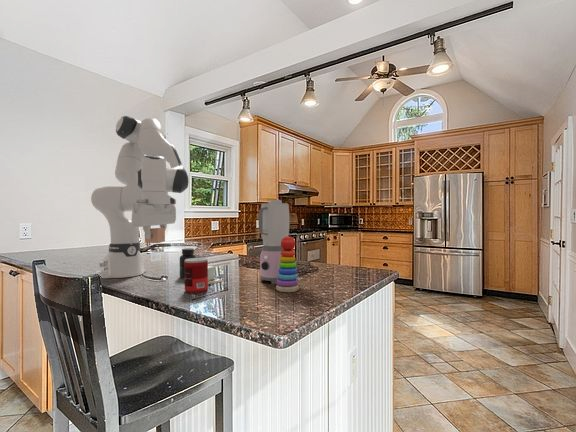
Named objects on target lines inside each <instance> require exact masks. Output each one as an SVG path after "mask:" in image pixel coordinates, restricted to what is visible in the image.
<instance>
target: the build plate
mask: <svg viewBox="0 0 576 432" xmlns="http://www.w3.org/2000/svg"><path fill="white" fill-rule="evenodd" d="M221 282H222V279H220V278H215V279H213V280H210V281H208V286H209V284H210V285H213V284H217V283H221Z"/></svg>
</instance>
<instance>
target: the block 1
mask: <svg viewBox="0 0 576 432" xmlns="http://www.w3.org/2000/svg"><path fill="white" fill-rule="evenodd" d="M150 232H151V234H153V238H151V239H146V234H145V233H144V243H145V244H160V243H164V242H166V230H165V228H161V227H151V229H150Z"/></svg>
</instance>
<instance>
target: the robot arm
mask: <svg viewBox="0 0 576 432" xmlns="http://www.w3.org/2000/svg"><path fill="white" fill-rule="evenodd" d="M115 132H116V135H117V136H118V137H120V138H121V139H123V140H126V141H128V142H125V143H124V144H123V145H122V146H121V147H120V150H119V152H118V156H117V160H116V165H115V171H114V175H115V178H116V179H117V181H118V182H120V183H121V184H123V185H124V186H103V187H102V186H101V187H97V188H95V189H94V190H93V191H92V194H91V197H90V199H91V200H90V201H91V202H90V203H91V204H92V207H94V208H95V210H97V211H99V212H100V213H101V214H102V215H103V216H104V217H105V219H106V221H107V222H108V225H109V233H110V243H109V245H108V253H107V254H106V256H105V257H104V258H103V259H102V260H101V261H100V262H99V267H100V268H101V270H97V271H96V272H95V275H97V274H99V275H100V276H101V277H100V276H99V277H100V278H102V279H113V278H114V279H119V278H120V279H121V278H130V277H137V276H139V275H143V274H144V273H146V272H147V269H145V266H144V255H143V253H141V252H140V250H141V243H140V231H139V230H140V228H142V230H143V232H144V235H145V234H146V239H151V238H153V234H151V232H150V229H151V228H152V227H151V226H153V227H154V226H159V228H165V231H166V230H167V225H171V224H175V223H176V220H177V209H176V206H175V205H176V204H177V199H176V198H174V197H172V196H171V195H169V193H178V194H182V193H183V192H184V191H186V190H187V188H188V187H189V184H190V183H189V182H190V181H189V180H190V179H189V175H188V172H187V171H186V169H185V167H184V165H183V163H182V161H181V159H180V156H179V154H178V152H177V150H176V147H175V146H174V144H172V143H170V142H169V141H168V140H167V138H166V134H165V132H164V129H163V126H162V125H161V123H160V121H158V120H157V119H156V118H151V117H149V118H148V117H147V118H144V119H143V120H138V119H136V118H134V117H132V116H129V115H123V116H121V117H120V119H118V121H117V122H116V125H115ZM167 163H168V164H169V166H170V167H167ZM125 212H131V219H130V218H128V217H127V216H126V215H125Z"/></svg>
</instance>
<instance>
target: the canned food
mask: <svg viewBox="0 0 576 432" xmlns="http://www.w3.org/2000/svg"><path fill="white" fill-rule="evenodd" d="M208 266H209V263H208V258H206V257H196V258H190V259H186V260H185V262H184V270H185V279H184V290H185V293H187V294H200V293H205V292H206V291H208V288H209V285H208Z"/></svg>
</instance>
